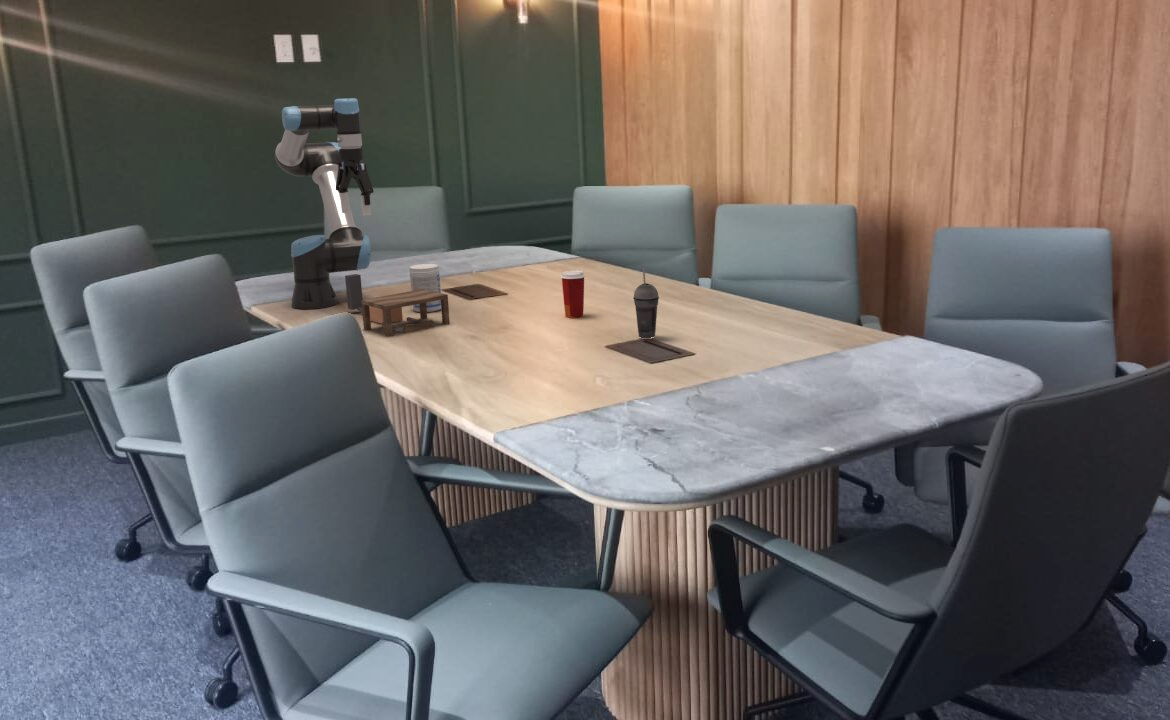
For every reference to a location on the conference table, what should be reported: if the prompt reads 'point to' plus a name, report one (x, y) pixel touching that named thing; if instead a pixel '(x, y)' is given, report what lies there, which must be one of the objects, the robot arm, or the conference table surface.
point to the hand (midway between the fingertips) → (356, 214)
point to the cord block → (356, 296)
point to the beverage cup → (646, 308)
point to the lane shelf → (402, 301)
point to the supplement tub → (426, 283)
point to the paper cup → (573, 293)
